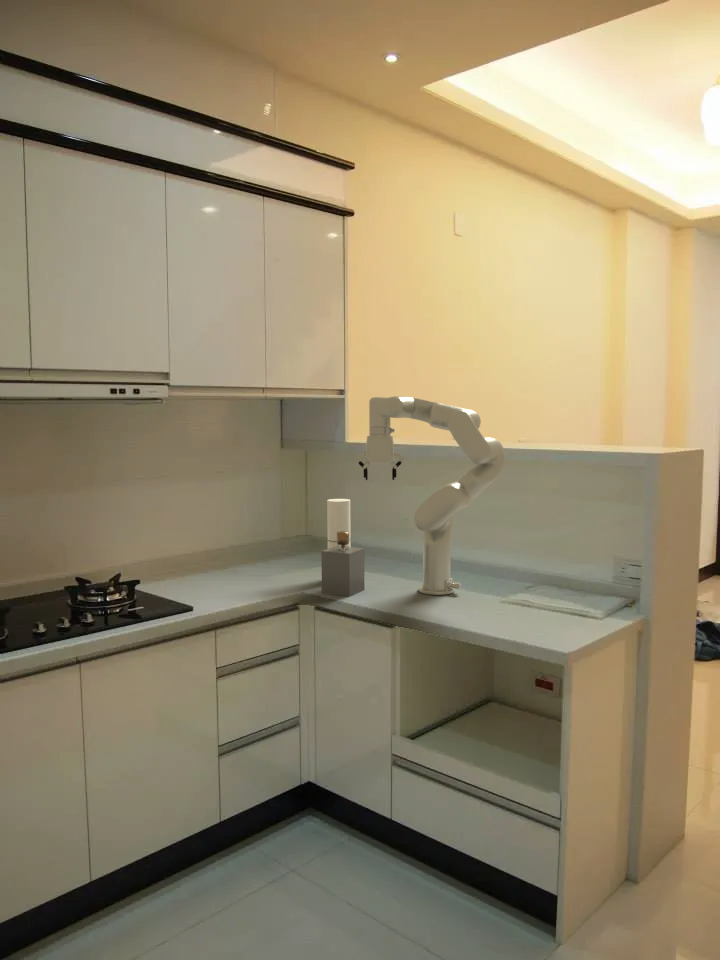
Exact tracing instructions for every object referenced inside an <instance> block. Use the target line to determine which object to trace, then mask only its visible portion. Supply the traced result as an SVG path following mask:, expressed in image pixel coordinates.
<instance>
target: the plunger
mask: <svg viewBox="0 0 720 960" xmlns="http://www.w3.org/2000/svg"><path fill="white" fill-rule="evenodd" d="M337 544H339V545H341V551H345V545H347V544H349V532H346V531H340V532H337Z"/></svg>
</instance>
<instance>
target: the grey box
mask: <svg viewBox="0 0 720 960" xmlns="http://www.w3.org/2000/svg"><path fill="white" fill-rule="evenodd" d="M320 552H321V553H320V554H321V594H327V595H335V596H342V597H343V596H344V597H349V598H350V597H351V596H354V595H356V594H358V593H360V592H362V591H364V590H365V548H364V547H354V546H351V547H345V551H341V546H335V547H332V548H329V549H328V548H326V549H323V550H321V551H320Z"/></svg>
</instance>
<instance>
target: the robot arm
mask: <svg viewBox="0 0 720 960" xmlns="http://www.w3.org/2000/svg"><path fill="white" fill-rule="evenodd" d="M368 402H369V406H368V407H369V409H368V410H369V411H368V413H369V415H368V416H369V417H368V418H369V419H368V421H369V425H368V426H369V427H368V428H369V430H368V431H369V432H368V433H369V435H367V436H366V443H365V451H363V452H362V453H360V454H357V455H356V456H355V459H356V461H357V463H358V465H359V466H360V467H361V468H362V469H363V478H364V479H365V481H368V480H369V479H368V466H369V465H370V464H371V465H372V464H375V465H377V464H378V465H379V464H381V465H385V464H390V465H391V466H392V468H391V477H392V478H391V479H392V481H395V478H397V469H398V468H399V466H401V465H402V462H403V461H404V459H405V456H404V455H402V454H400V453H398V452H396V451H395V444H394V438H393V435H391V434H392V433H395V428H392V427H391V419H392V418H393V419H402V418H403V419H404V418H405V419H406V418H407V419H411V420H416V421H417V420H418V421H420V422H421V421H422V422H424V423H427V424H429V426H430V427H432V428H435V429H440V430H444V431H448V432H450V434H451V436H452V438H453V439H454V441H455V442H456V443H457V445H458V447H459V448H460V449H461V451H462V452H463V454H464V455H465V456H466V459H468V460H469V462H471V463H472V464H474V465H473V466H472V467H471V468H469V469H468V470H467V471H466V472H465V473H464V474H463V475H462V476H461V477H459V478H457V480H456V481H453V482H451V483H447V484H445V485H442V486H440V487H439V488H438V489H437V490H435V492H433V493H432V494H431V495H430V496H429V497H428V498H427V499H425V500H424V501H423V502H422V503H421V504H420V505H419V506H418V507H417V508H416V509H415V511H414V513H413V524H414V526H415V527H416V529H417V530H419V531H420V532H423V539H422V585H419V586H418V591H419V593H421V594H425V595H433V596H434V595H435V596H442V595H444V596H445V595H449V594H450V595H451V594H452V593H455V590H461V589H462V583H461V582H458V581H456V582H455V581H454V577H451V541H452V540H451V539H452V527H453V520H454V519H453V518H454V516H453V515H454V514H455V513H456V512H458V511H461V510H463V509H465V508H467V507H468V506H469V505H470V504H471V503H472V502H473V501H474V500H475V499H476V498H477V497H478V496H480V494H482V493H483V492H484V491H485V490H486V489H487V488H488V487H489V486H490V485H491V484H492V483H493V482H495V481H496V480H497V478H498V477H499V476H500V474H501V473H502V471H503V469H504V467H505V461H506V454H505V449H504V446H503V445H502V443H501V441H499V439H497V438H494V437H484V436H483V434H482V433H481V432H480V430H479V429H480V428H481V427H480V426H481V424H482V423H481V422H482V421H481V417H480V415H479V413H478V412H476V411H474V410H472V409H469V408H463V407H459V406H455V405H451V404H450V405H449V404H444V403H442V402H436V401H435V402H434V401H430V400H425V399H423V398H422V399H421V398H416V397H411V396H406V395H405V396H390V397H385V396H383V397H382V396H376V397H370V399H369V401H368ZM364 457H365V462H363V461H362V460H361V459H362V458H364ZM395 457H397V458H398V459H399V460H398V461H397V462H396V463H395V462H394V461H395Z"/></svg>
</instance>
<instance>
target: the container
mask: <svg viewBox="0 0 720 960" xmlns="http://www.w3.org/2000/svg"><path fill="white" fill-rule="evenodd" d="M326 501H327V503H326V506H327V508H326V509H327V510H326V514H327V517H326V518H327V519H326V520H327V521H326V522H327V523H326V524H327V529H326V530H327V549H329V548H332V547H335V546H341V545H339V544H337V532H340V531H346V532H349V544H347V545H345V547H352V545H351V499H349V498H329V499H327V500H326Z"/></svg>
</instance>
